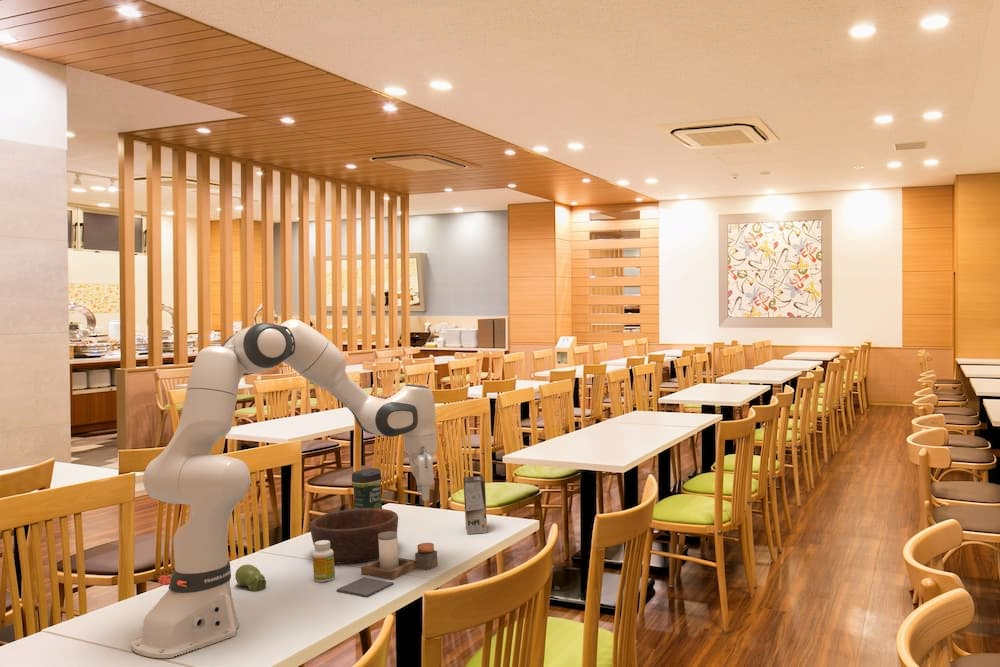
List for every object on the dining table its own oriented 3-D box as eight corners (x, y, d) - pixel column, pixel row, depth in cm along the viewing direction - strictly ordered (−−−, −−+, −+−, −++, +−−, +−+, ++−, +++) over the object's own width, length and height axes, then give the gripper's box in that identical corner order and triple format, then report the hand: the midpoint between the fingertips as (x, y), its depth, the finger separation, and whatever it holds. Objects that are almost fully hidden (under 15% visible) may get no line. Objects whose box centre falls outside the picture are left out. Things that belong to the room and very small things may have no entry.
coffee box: (488, 533, 248) (485, 481, 247) (467, 534, 247) (464, 482, 247) (485, 525, 257) (482, 475, 256) (465, 527, 256) (462, 476, 256)
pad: (367, 597, 195) (367, 595, 195) (336, 591, 201) (336, 589, 201) (393, 584, 204) (393, 582, 204) (363, 579, 209) (363, 577, 209)
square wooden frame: (404, 581, 206) (403, 566, 206) (361, 574, 213) (360, 559, 213) (437, 565, 218) (436, 550, 218) (396, 559, 225) (395, 544, 225)
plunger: (428, 566, 214) (427, 548, 214) (415, 564, 216) (414, 546, 216) (438, 562, 218) (437, 543, 218) (425, 560, 220) (424, 542, 220)
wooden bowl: (297, 567, 223) (294, 530, 223) (331, 541, 248) (329, 507, 247) (383, 567, 219) (381, 530, 218) (410, 541, 243) (408, 507, 243)
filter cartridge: (391, 575, 211) (389, 537, 211) (376, 572, 214) (374, 535, 214) (403, 569, 216) (400, 532, 216) (388, 567, 218) (386, 530, 218)
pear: (250, 559, 213) (272, 572, 207) (249, 578, 214) (271, 592, 207) (231, 564, 209) (252, 578, 202) (230, 584, 209) (251, 598, 203)
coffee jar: (365, 531, 257) (362, 473, 257) (349, 527, 262) (346, 470, 262) (388, 524, 265) (385, 467, 264) (372, 521, 270) (369, 465, 269)
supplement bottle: (329, 582, 208) (327, 545, 208) (310, 582, 209) (308, 545, 209) (338, 575, 213) (336, 539, 213) (319, 575, 214) (317, 539, 214)
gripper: (438, 449, 207) (440, 503, 207) (427, 438, 227) (429, 487, 227) (413, 451, 206) (416, 505, 206) (404, 440, 225) (407, 489, 226)
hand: (423, 496), depth 217 cm, fingers open, 8 cm apart
